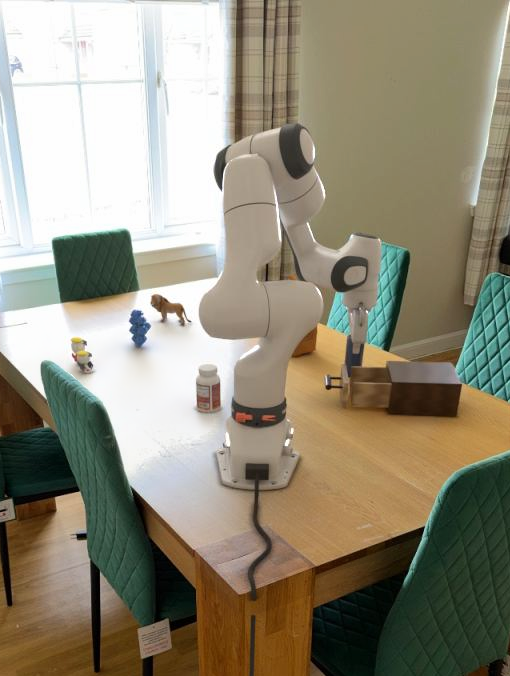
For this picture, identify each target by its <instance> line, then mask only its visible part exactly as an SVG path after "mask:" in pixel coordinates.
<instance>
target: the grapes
mask: <svg viewBox="0 0 510 676" xmlns="http://www.w3.org/2000/svg"><path fill="white" fill-rule="evenodd" d="M147 320H148V319H147V318H146V317H145V316H144V312H143V311H142V310H141V309H139V308H137V309H133V310H132V311H131V312H130V317H129V320H128V322H129V324H130V325H131V326H130V328H129V330H128V331H129V332H130V334H131V335H132V336H131V338H130V340H131V341H132V342H133V343H134V344H135V345H136V346H137V347H139V348H141V347H142V346H143V345H144V344H145V343H146V342H147V340H148V337H147V336H146V334H147V333H148V331H150V329H151V327H152V325H151V324H150V322H148V321H147Z"/></svg>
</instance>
